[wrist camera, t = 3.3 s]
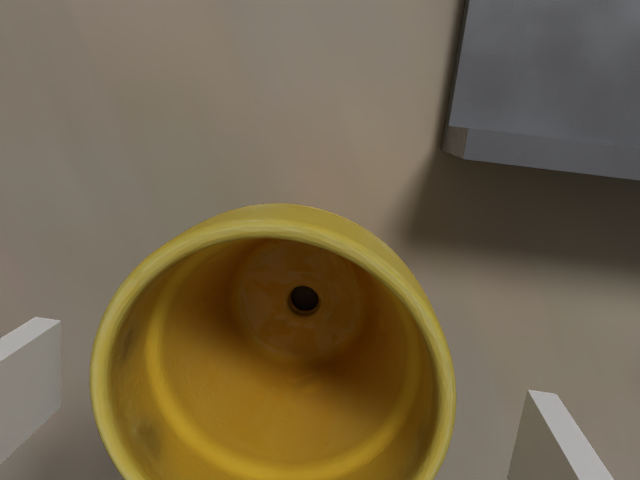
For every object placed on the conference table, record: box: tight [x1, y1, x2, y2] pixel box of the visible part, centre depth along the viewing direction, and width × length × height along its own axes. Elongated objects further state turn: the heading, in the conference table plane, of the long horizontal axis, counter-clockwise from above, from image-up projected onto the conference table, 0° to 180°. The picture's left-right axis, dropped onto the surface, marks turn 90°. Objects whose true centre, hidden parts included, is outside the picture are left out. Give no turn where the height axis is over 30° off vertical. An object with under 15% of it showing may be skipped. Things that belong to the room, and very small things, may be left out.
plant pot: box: [89, 203, 456, 480], centre depth 19 cm, size 10×10×10 cm
